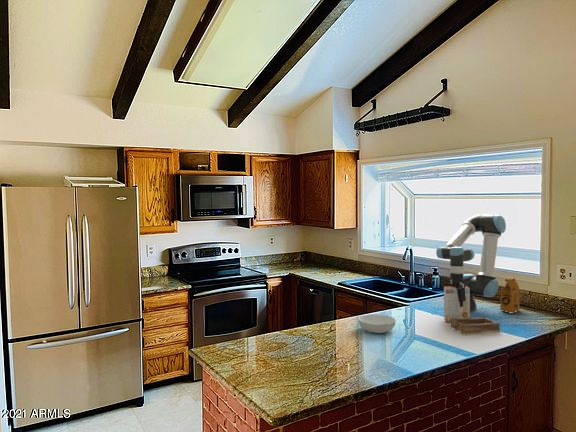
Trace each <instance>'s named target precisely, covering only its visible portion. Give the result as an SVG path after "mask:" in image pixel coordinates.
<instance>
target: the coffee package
mask: <svg viewBox="0 0 576 432" xmlns="http://www.w3.org/2000/svg"><path fill="white" fill-rule="evenodd" d="M504 281H505V282H506V283H505V285H504V287H503V289H502V290H501V292H500V305H499V306H500V309H499V310H500V311H501V310H503V311H507V312H514V313H516V312H515V311H518V310H519V311H520V305H521V304H520V300H521V299H520V297H521V296H520V295H521V294H520V293H521V292H520V286H519V284H518V283H517V280H516V279H515V277H514V276H513V277H511V278H506V279H505V280H504ZM519 311H518V312H519Z"/></svg>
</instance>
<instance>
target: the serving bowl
mask: <svg viewBox="0 0 576 432" xmlns="http://www.w3.org/2000/svg"><path fill="white" fill-rule="evenodd" d="M357 321H358V324H359V326H360V327H361V329H363V330H365V332H369V333H372V332H373V333H374V334H383V333H388V332H390V331H392V330H393V329H394V327H395V326H396V322H397V320H396V319H395V318H394V317H392V316H389V315H385V314H375V313H374V314H370V313H369V314H363V315H360V316H359V317H358V318H357Z"/></svg>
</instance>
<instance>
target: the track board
mask: <svg viewBox="0 0 576 432" xmlns="http://www.w3.org/2000/svg"><path fill="white" fill-rule="evenodd" d="M500 326H501V325H500V323H499V322H497V321H495V320H492V319H490V318H487V317H470V318H468V319H454V320H451V322H450V329H452V330H453V331H455V332H457V333H460V334H461V335H464V336H470V335H480V334H493V333H494V334H495V333H500Z"/></svg>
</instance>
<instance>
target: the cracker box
mask: <svg viewBox="0 0 576 432" xmlns="http://www.w3.org/2000/svg"><path fill="white" fill-rule="evenodd" d="M465 298H466V301H463V312H458V301H459V298H458V293H457V289H456V287H452V286H449V285H448V286H443V320H444V321H445V322H446V323H451V320H454V319H468V318H471V317H470V316H471V311H470V288H469V287H467V286H465Z"/></svg>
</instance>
